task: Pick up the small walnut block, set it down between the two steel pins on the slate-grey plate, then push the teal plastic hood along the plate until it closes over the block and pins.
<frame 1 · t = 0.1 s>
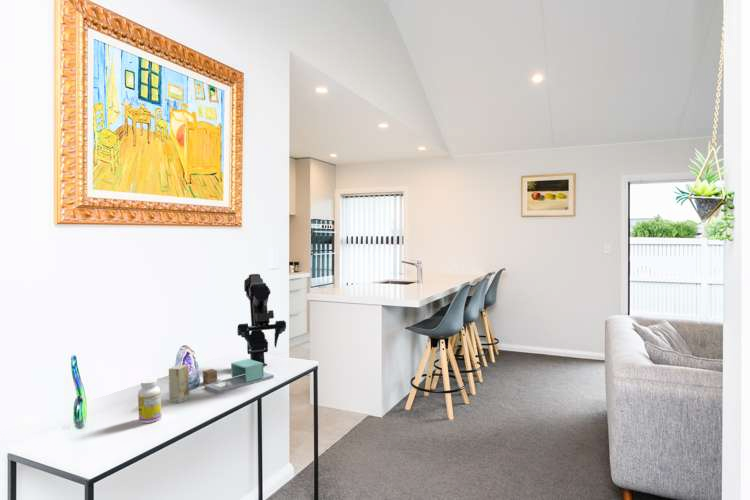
hand: (263, 348, 185), 15 cm above the table, tool tilted 35°, fingers open, 9 cm apart
supplement bottle: (150, 420, 153), on the table
pin plate: (240, 382, 190), on the table
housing: (247, 370, 193), point 4 cm above the table, slide at 11.0 cm
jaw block: (210, 382, 191), on the table
skincare box: (179, 400, 172), on the table
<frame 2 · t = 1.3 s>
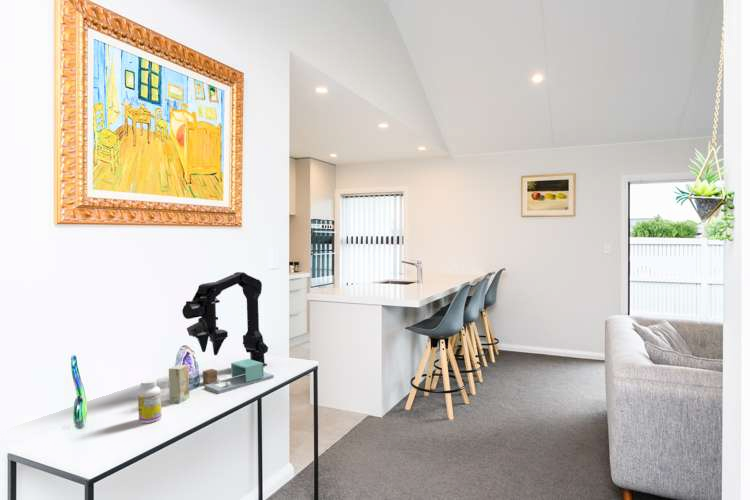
hand: (209, 353, 191), 12 cm above the table, tool pointing down, fingers open, 9 cm apart
nothing on the table moved.
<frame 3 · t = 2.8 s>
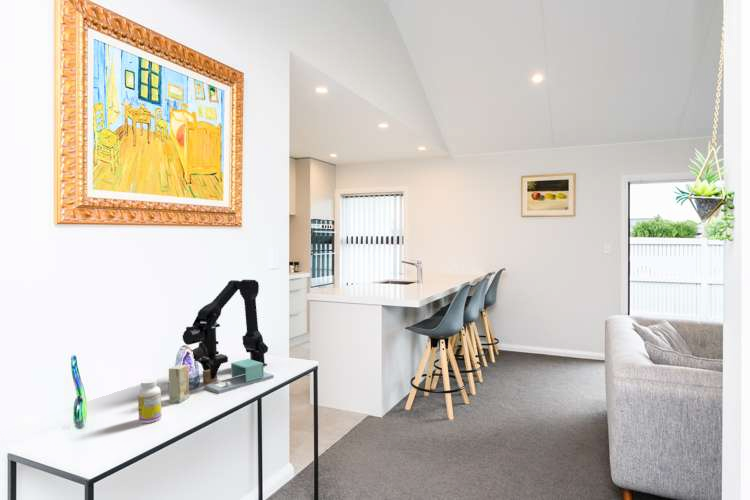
hand: (210, 377, 191), 2 cm above the table, tool pointing down, fingers closed on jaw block, 4 cm apart
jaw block: (210, 382, 191), on the table, touching gripper
everything else where it was.
when the fingers open (4 cm above the table, at t = 5.7 s): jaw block drops 1 cm, resting on pin plate.
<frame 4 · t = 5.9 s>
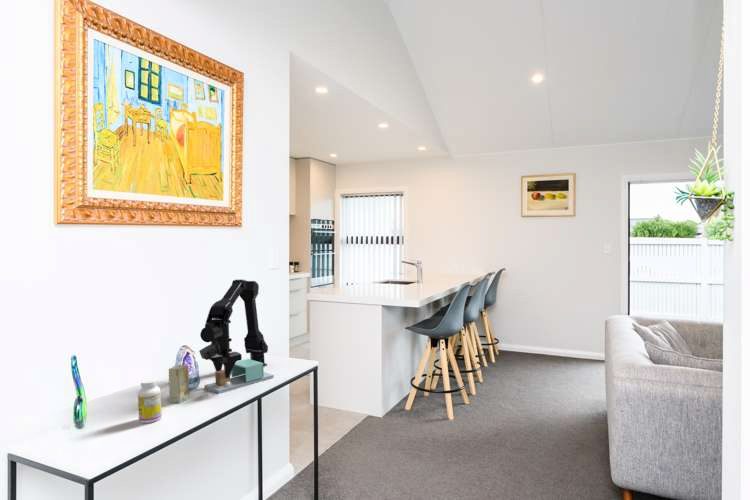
hand: (222, 376, 185), 4 cm above the table, tool pointing down, fingers open, 6 cm apart
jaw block: (223, 384, 185), point 1 cm above the table, touching pin plate
everything else where it was.
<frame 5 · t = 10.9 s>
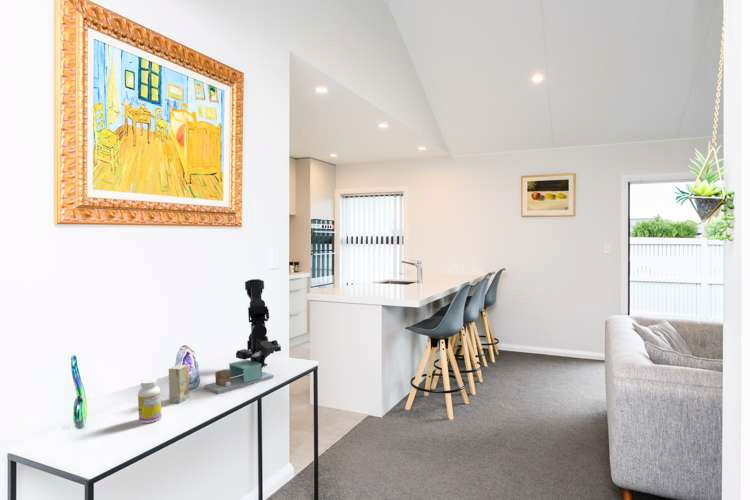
hand: (259, 371, 197), 3 cm above the table, tool pointing down, fingers closed
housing: (245, 370, 192), point 4 cm above the table, slide at 10.1 cm, touching gripper
everything else where it was.
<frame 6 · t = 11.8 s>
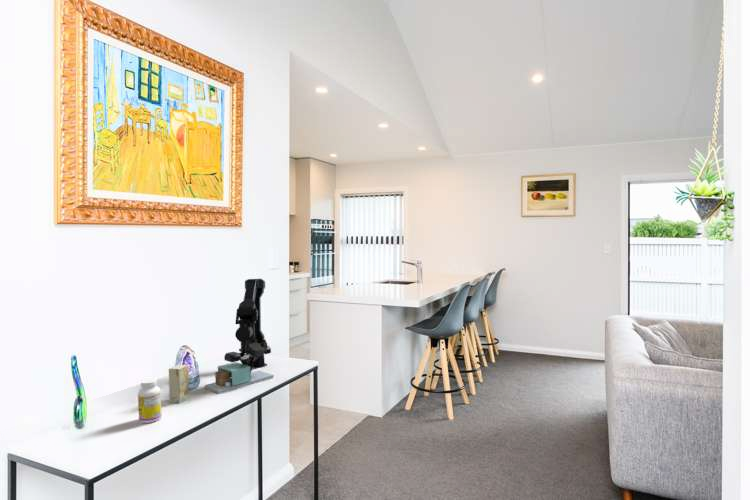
hand: (249, 374, 193), 3 cm above the table, tool pointing down, fingers closed
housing: (234, 373, 188), point 4 cm above the table, slide at 4.9 cm, touching gripper
everything else where it was.
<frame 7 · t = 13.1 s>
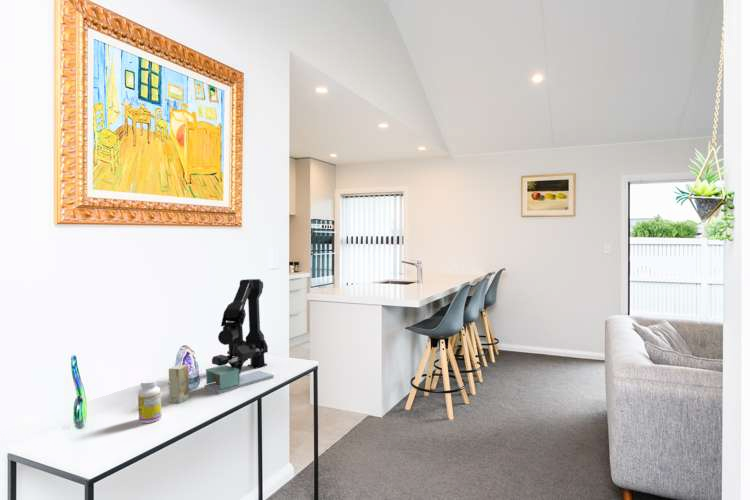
hand: (237, 377, 189), 3 cm above the table, tool pointing down, fingers closed
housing: (222, 376, 184), point 4 cm above the table, slide at -0.1 cm, touching gripper
everything else where it was.
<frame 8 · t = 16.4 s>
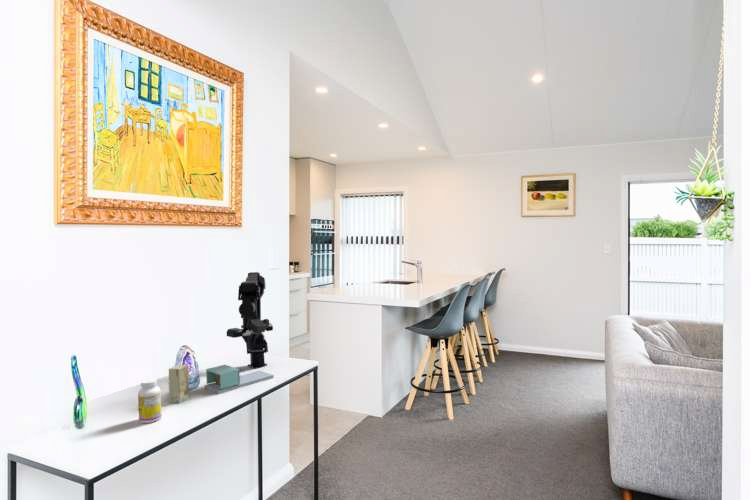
hand: (251, 350, 194), 12 cm above the table, tool pointing down, fingers closed
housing: (222, 376, 185), point 4 cm above the table, slide at 0.0 cm
everything else where it was.
at the end: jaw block 0.0 cm from the target spot, point 1.3 cm above the table; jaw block tilted 0°; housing slide at 0.0 cm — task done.
